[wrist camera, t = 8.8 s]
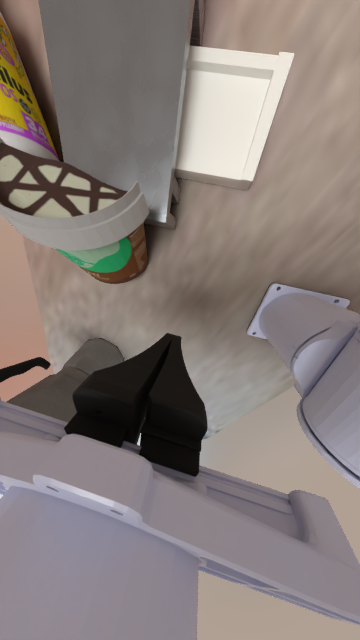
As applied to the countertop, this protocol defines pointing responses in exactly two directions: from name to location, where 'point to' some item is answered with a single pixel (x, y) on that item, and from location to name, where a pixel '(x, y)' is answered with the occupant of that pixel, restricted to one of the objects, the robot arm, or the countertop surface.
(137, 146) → the shelf
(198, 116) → the tray
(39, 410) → the coffeepot
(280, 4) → the countertop surface
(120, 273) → the food container
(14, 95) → the supplement bottle
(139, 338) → the countertop surface
